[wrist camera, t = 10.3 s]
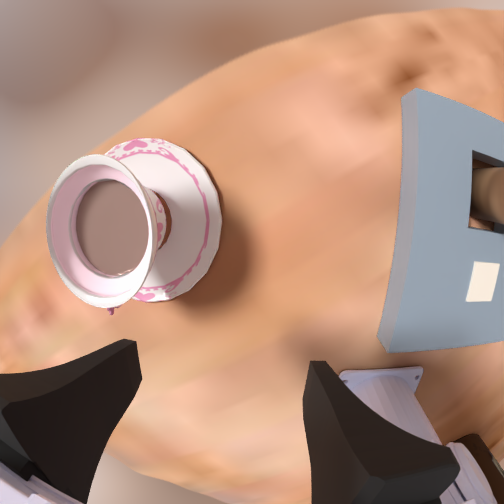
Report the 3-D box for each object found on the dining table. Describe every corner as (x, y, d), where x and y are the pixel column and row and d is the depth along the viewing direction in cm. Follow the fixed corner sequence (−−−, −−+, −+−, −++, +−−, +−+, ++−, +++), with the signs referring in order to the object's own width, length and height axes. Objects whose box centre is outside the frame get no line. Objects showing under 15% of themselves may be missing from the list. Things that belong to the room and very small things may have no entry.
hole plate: (499, 328, 19) (514, 339, 16) (376, 336, 20) (388, 354, 17) (524, 145, 15) (542, 144, 12) (401, 97, 16) (417, 86, 13)
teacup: (78, 150, 19) (25, 144, 13) (222, 131, 18) (199, 106, 12) (88, 294, 21) (43, 323, 15) (225, 303, 20) (207, 348, 14)
